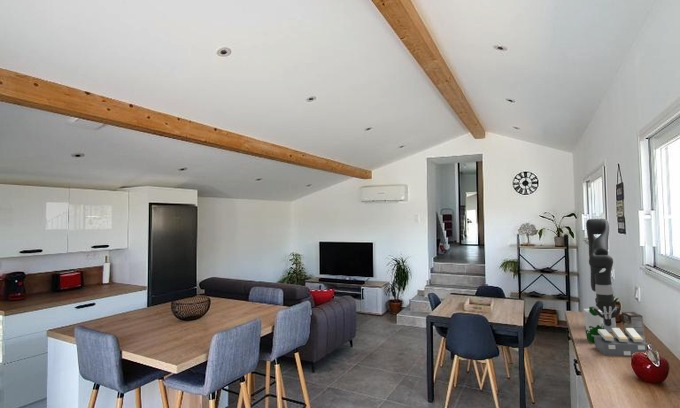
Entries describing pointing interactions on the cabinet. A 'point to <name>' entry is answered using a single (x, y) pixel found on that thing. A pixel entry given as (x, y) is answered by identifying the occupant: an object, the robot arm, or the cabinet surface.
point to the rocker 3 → (633, 335)
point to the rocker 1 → (605, 334)
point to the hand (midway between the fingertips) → (608, 325)
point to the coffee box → (633, 323)
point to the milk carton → (592, 323)
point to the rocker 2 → (619, 334)
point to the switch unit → (619, 346)
